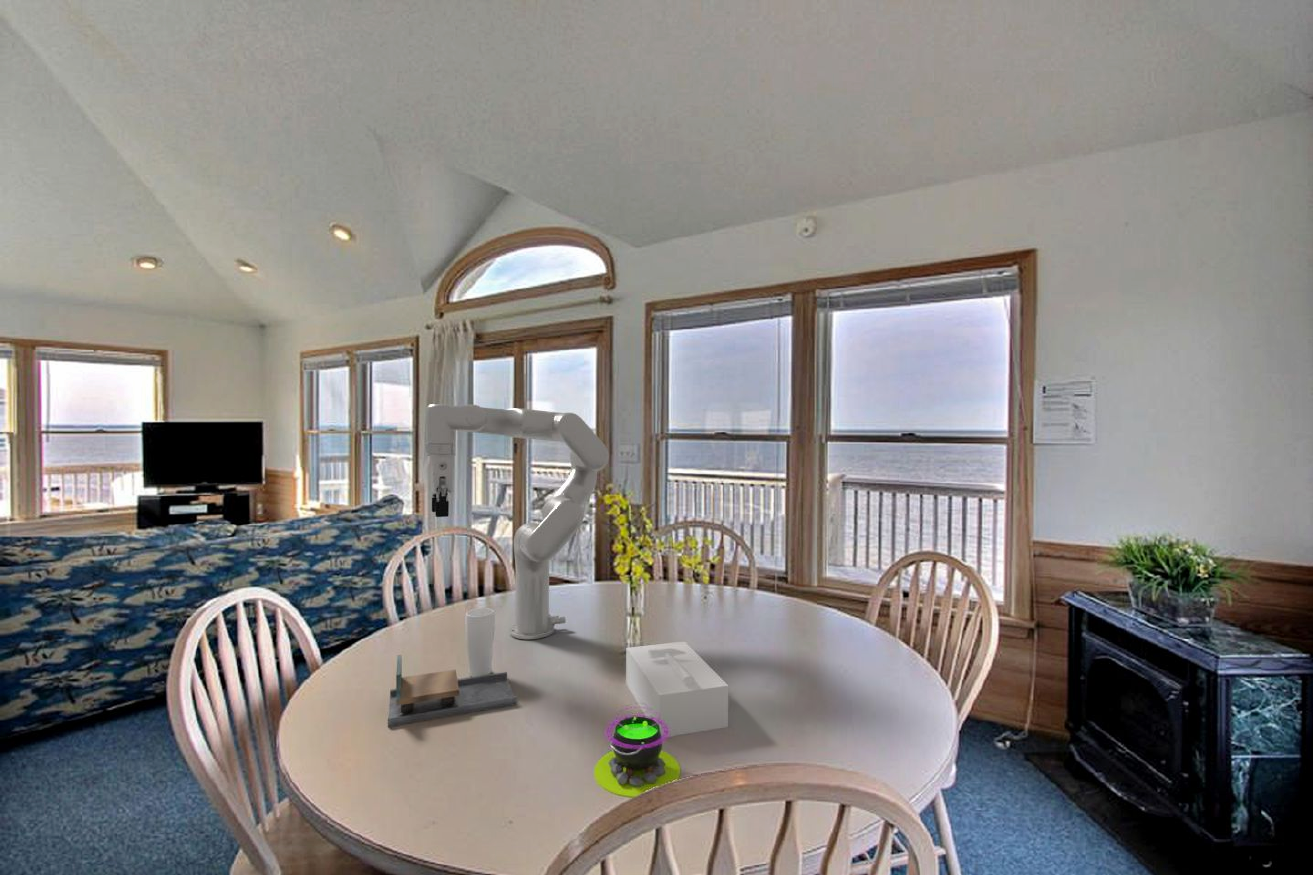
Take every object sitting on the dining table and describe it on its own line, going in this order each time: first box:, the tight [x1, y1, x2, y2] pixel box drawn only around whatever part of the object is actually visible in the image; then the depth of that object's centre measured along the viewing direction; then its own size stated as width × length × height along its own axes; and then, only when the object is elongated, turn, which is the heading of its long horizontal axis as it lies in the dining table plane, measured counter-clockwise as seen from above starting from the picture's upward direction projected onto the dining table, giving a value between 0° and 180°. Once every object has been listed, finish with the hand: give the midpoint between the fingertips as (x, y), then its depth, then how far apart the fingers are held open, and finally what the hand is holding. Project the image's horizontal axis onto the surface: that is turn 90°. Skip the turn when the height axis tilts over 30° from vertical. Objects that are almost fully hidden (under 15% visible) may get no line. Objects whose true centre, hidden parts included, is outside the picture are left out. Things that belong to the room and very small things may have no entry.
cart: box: [395, 654, 459, 714], centre depth 125 cm, size 12×11×9 cm
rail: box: [387, 671, 517, 728], centre depth 127 cm, size 25×14×2 cm, turn 113°
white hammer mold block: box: [625, 641, 729, 737], centre depth 126 cm, size 14×25×11 cm, turn 18°
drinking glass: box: [464, 607, 496, 677], centre depth 141 cm, size 7×7×15 cm
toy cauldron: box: [593, 702, 681, 798], centre depth 102 cm, size 15×15×11 cm
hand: (439, 514), depth 157 cm, fingers open, 9 cm apart
